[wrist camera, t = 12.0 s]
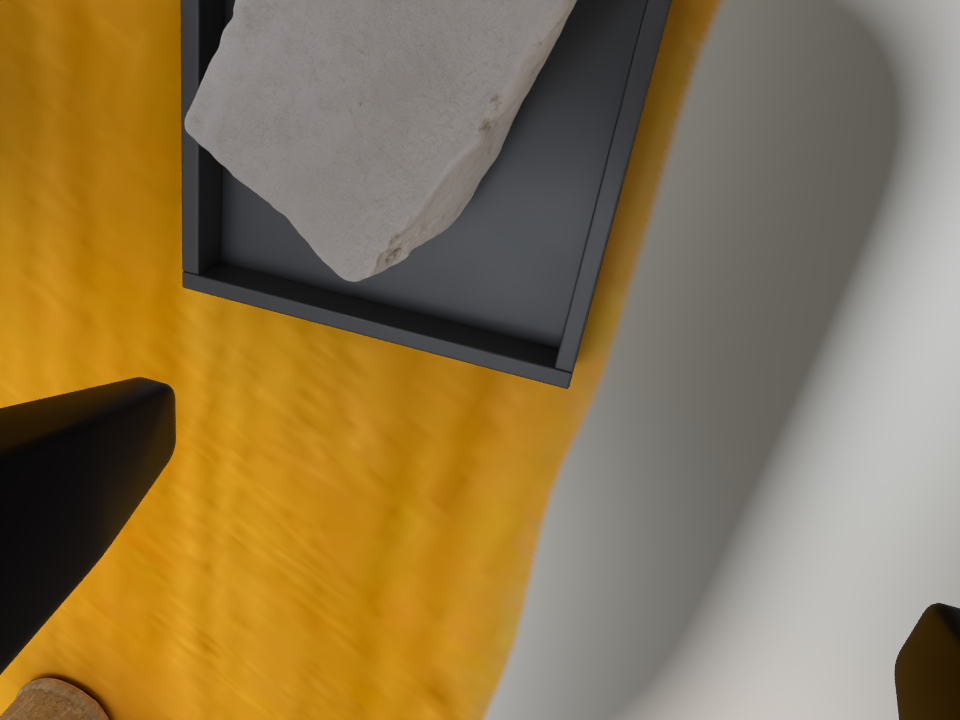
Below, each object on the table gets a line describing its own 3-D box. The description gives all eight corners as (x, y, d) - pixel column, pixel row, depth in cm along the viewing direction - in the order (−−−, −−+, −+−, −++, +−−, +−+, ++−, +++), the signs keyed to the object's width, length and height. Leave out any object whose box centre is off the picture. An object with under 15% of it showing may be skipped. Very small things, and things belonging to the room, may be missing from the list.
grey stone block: (490, -154, 19) (416, -370, 13) (682, -2, 18) (690, -164, 12) (247, 156, 21) (90, 83, 15) (409, 312, 20) (305, 297, 14)
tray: (575, 363, 21) (568, 390, 20) (212, 270, 22) (181, 287, 21) (759, -330, 14) (769, -367, 13) (220, -408, 16) (176, -449, 14)
